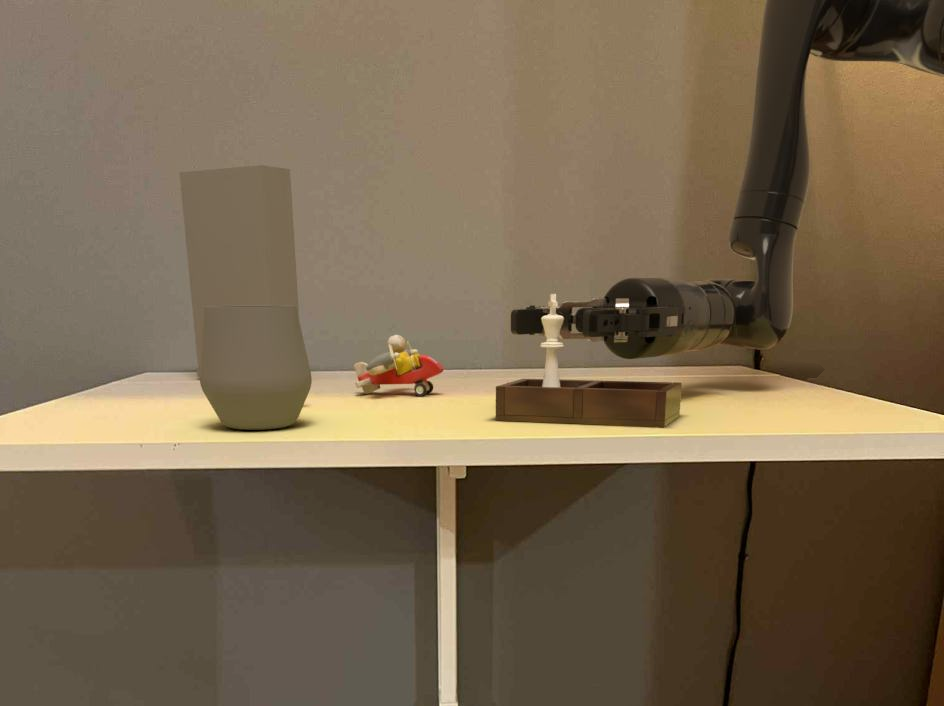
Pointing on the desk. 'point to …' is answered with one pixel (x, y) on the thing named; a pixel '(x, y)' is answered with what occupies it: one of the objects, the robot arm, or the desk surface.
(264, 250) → the khaki block
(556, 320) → the chess piece
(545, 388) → the divided tray
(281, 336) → the cup
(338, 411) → the desk surface
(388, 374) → the toy airplane
